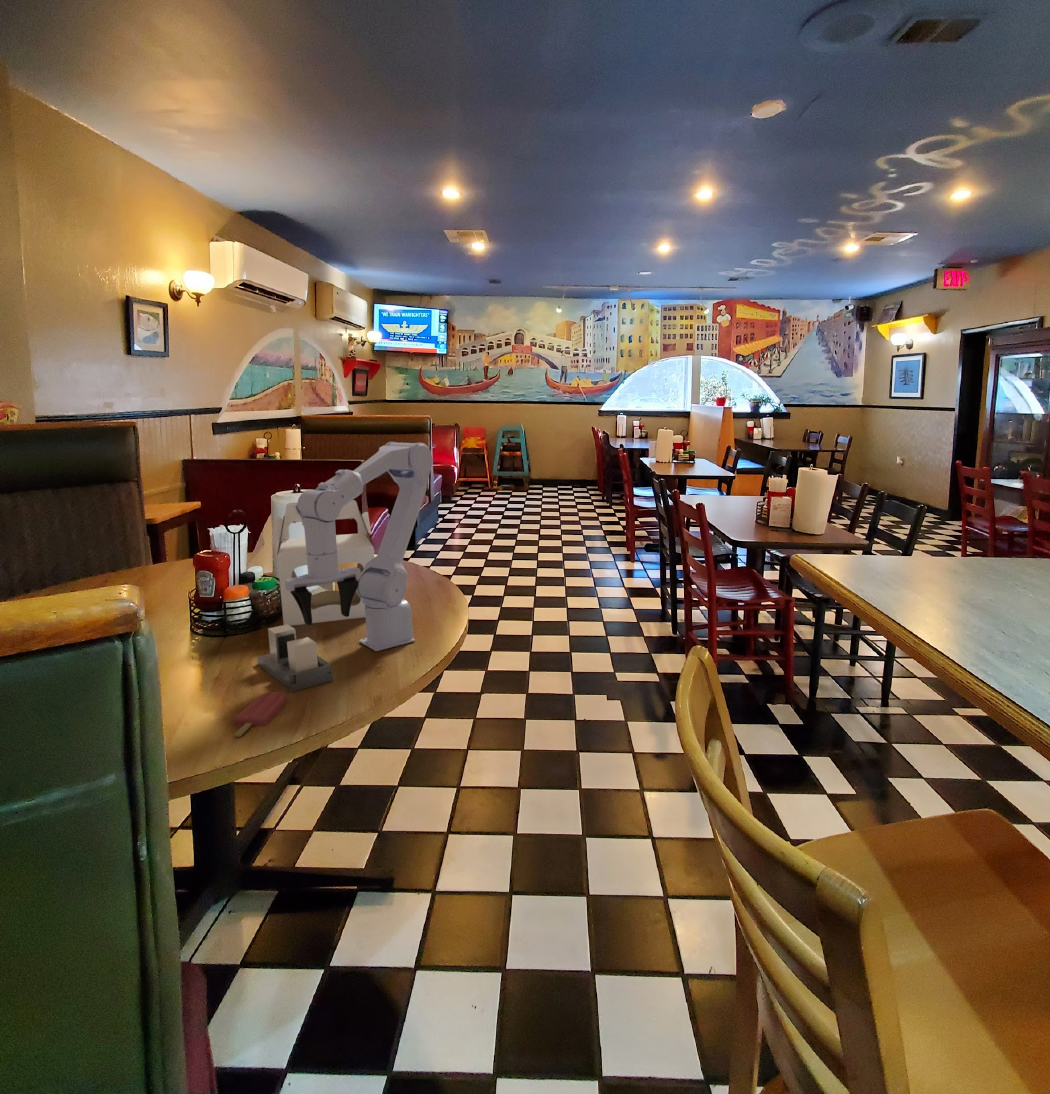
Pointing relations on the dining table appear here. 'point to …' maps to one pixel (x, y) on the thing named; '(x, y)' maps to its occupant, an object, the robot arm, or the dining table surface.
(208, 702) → the dining table surface
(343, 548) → the gable box
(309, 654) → the block
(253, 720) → the popsicle
